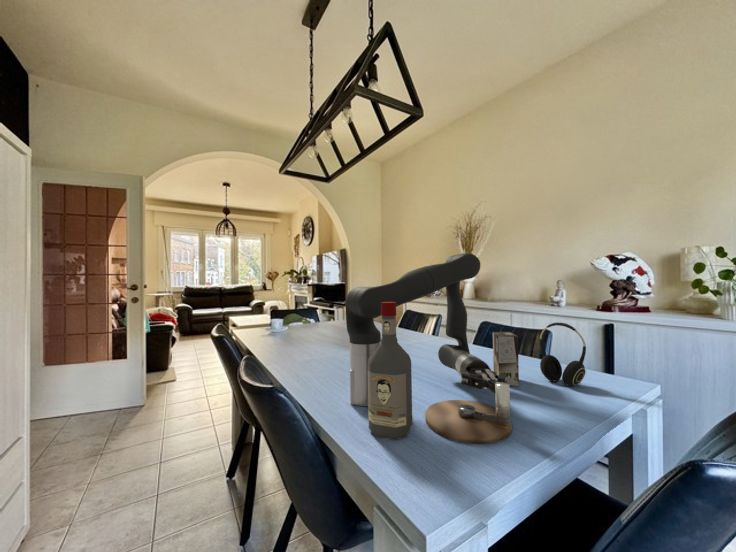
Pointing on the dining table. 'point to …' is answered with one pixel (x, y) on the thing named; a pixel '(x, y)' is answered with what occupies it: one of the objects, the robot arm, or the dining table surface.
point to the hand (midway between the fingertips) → (499, 390)
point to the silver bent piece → (501, 407)
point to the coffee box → (506, 356)
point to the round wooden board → (465, 423)
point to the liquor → (389, 382)
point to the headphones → (553, 367)
